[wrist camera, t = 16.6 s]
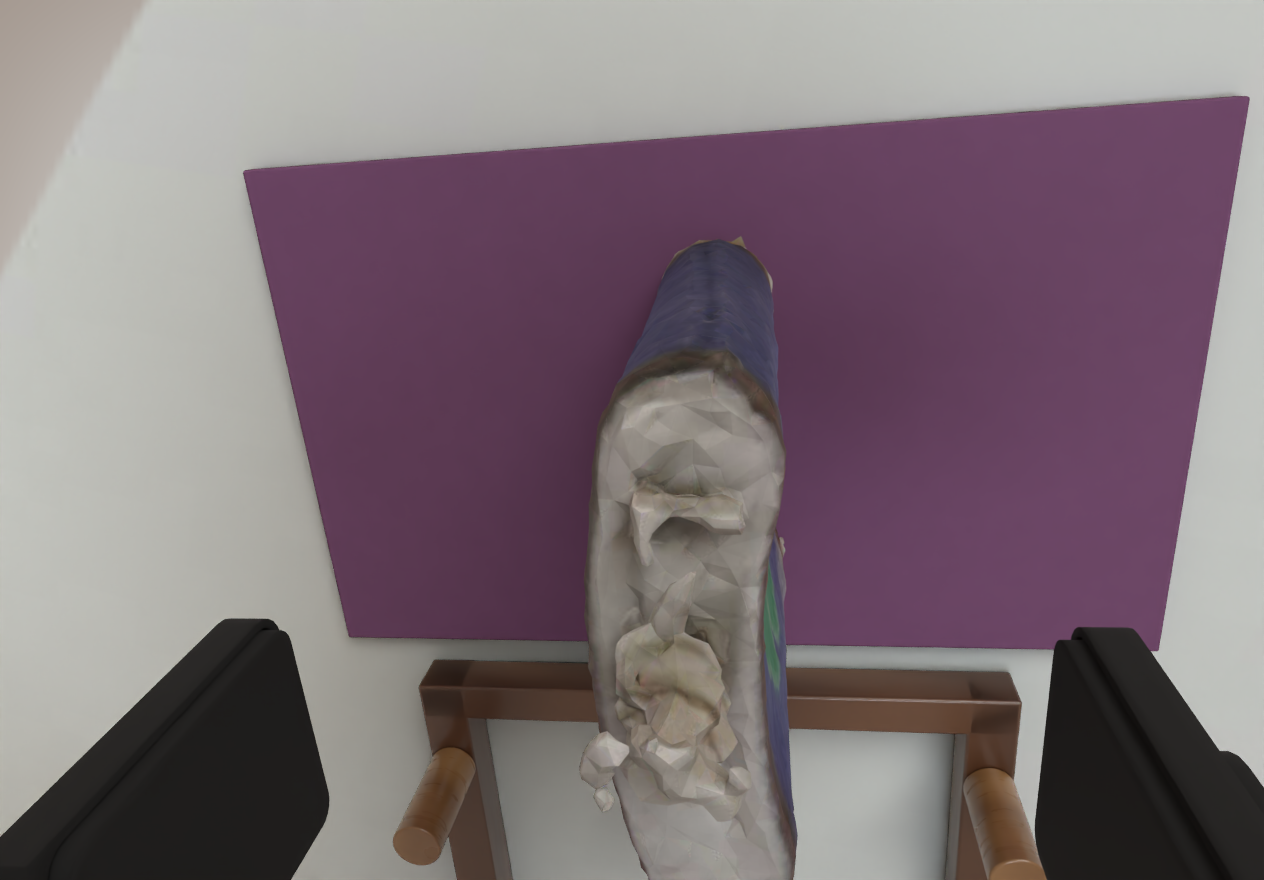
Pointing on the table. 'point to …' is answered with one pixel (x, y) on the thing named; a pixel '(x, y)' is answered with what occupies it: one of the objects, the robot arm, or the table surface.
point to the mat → (807, 362)
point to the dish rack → (816, 699)
